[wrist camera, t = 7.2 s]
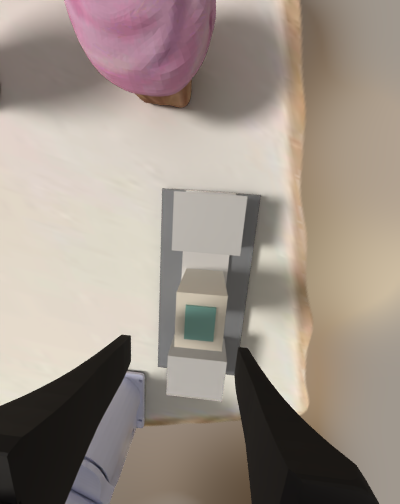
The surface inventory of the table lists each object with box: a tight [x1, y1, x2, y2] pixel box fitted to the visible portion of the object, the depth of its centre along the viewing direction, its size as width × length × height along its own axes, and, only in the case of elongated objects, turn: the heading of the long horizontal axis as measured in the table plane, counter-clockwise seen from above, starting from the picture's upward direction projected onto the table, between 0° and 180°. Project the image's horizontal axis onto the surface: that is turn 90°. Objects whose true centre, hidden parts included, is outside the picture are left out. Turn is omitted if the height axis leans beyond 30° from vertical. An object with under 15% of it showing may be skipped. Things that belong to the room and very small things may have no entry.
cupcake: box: [64, 0, 216, 108], centre depth 13 cm, size 9×9×10 cm
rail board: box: [158, 188, 261, 401], centre depth 20 cm, size 22×10×5 cm, turn 176°
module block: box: [174, 268, 228, 352], centre depth 18 cm, size 5×4×6 cm
